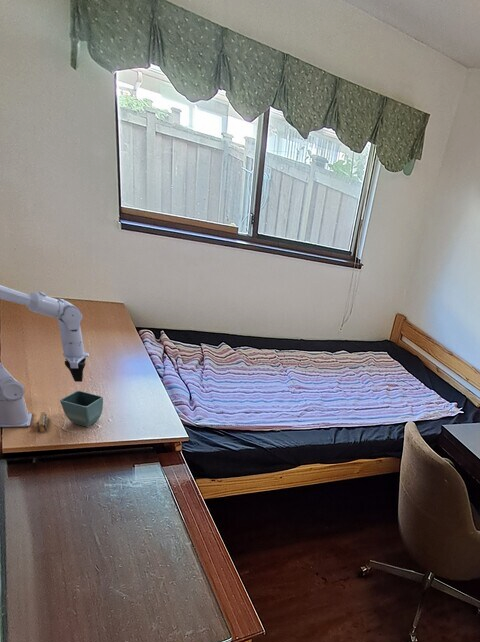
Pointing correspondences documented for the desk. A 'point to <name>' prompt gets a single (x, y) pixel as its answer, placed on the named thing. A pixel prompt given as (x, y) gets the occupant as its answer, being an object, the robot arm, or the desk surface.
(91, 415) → the flower pot
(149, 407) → the desk surface
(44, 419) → the stop rail
